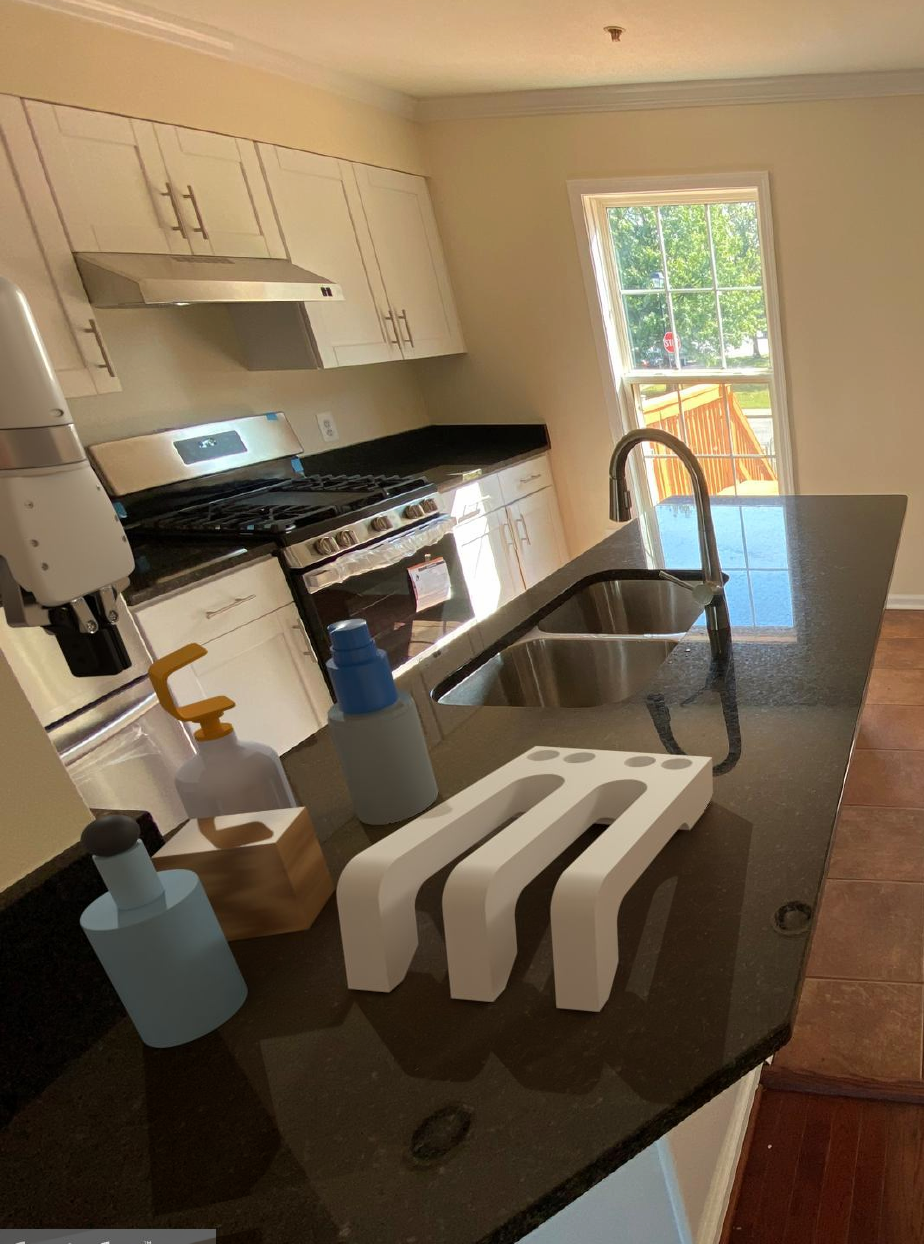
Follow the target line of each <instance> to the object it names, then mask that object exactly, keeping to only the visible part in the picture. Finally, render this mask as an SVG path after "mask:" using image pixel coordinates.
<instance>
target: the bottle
mask: <svg viewBox="0 0 924 1244" xmlns="http://www.w3.org/2000/svg"><path fill="white" fill-rule="evenodd" d="M140 836H141V827H140V824H139V823H138V822H137V821H136V820H135V819H133V818H132V817H130V816H127V815H123V814H108V815H104V816H100V817H98V818H96V819H94V820H92V821H91V822H90V823H88V824H87V825H86V826H85V827H84V829H83V830H82V832H81V834H80V838H79V840H80V846H81V847H82V849H83V850H84V851H85V852H86V853H88V854H90V855H92V860H93V862H94V864H95V866H96V869H97V870H98V873H99V875H100V876H101V878H102V880H103V883H104V884H105V886H106V888H107V890H108V891H107V892H105V893H103V894H102V895H100V896H99V897H98V898H96V899H95V900H93V902H91V903H90V904H89V905H88V906H87V907H86V908H85V909H84V911H83V912H82V914H81V915H80V918H79V924H80V926H81V928H82V930H83V932H84V933H85V935H86V937H87V939H88V941H89V943H90V945H91V947H92V949H93V950H94V953H95V955H96V956H97V958H98V960H99V961H100V963H101V965H102V967H103V969H104V971H105V973H106V975H107V976H108V979H109V980H110V983H111V984H112V986H113V987H114V989H115V991H116V993H117V995H118V997H119V999H120V1000H121V1002H122V1004H123V1006H124V1008H125V1010H126V1012H127V1014H128V1015H129V1017H130V1019H131V1021H132V1023H133V1025H134V1027H135V1028H136V1031H137V1032H138V1034H139V1036H140V1038H141V1040H142V1042H143V1043H144V1044H145V1045H147V1046H149V1047H152V1048H158V1049H164V1048H172V1047H176V1046H180V1045H184V1044H187V1043H189V1042H192V1041H195V1040H197V1039H200V1038H202V1037H203V1036H205V1035H207V1034H209V1033H211V1032H213V1031H214V1030H216V1029H218V1028H219V1027H220V1026H222V1025H223V1024H224V1023H226V1022H227V1021H228V1020H230V1019H231V1018H232V1017H233V1016H234V1015H235V1014H236V1013H237V1012H238V1011H239V1010H240V1009H241V1007H242V1006H243V1004H244V1003H245V1002H246V999H247V997H248V986H247V983H246V982H245V979H244V977H243V975H242V973H241V969H240V968H239V966H238V964H237V961H236V959H235V957H234V954H233V953H232V949H231V948H230V945H229V943H228V942H227V941H226V938H225V936H224V934H223V932H222V929H221V927H220V925H219V922H218V920H217V918H216V916H215V913H214V911H213V909H212V907H211V904H210V902H209V900H208V898H207V895H206V893H205V891H204V888H203V886H202V884H201V882H200V879H199V877H198V875H197V874H196V873H194V872H192V871H190V870H184V869H175V870H166V871H160V872H157V871H156V869H155V867H154V865H153V863H152V860H151V856H150V855H149V853H148V850H147V848H146V846H145V845H144V842H143V840H142V839H141V838H140Z"/></svg>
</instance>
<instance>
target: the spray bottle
mask: <svg viewBox="0 0 924 1244" xmlns="http://www.w3.org/2000/svg"><path fill="white" fill-rule="evenodd" d="M326 629H327V632H328V636H329V639H330V644H331V646H330V647H329V651H330V654H331V658H329V659H328V660H327V661H326V662H325V666H326V670H327V673H328V676H329V679H330V682H331V685H332V688H333V692H334V695H335V699H336V703H334V704H333V705H332V706H330V707H329V709H328V710H327V712H326V715H327V719H326V720H327V721H326V722H327V725H328V729H329V731H330V735H331V738H332V741H333V744H334V747H335V750H336V751H335V752H336V754H337V756H338V760H339V763H340V765H341V766H340V767H341V769H342V773H343V776H344V778H345V781H346V785H347V788H348V791H349V794H350V797H351V800H352V803H353V807H354V810H355V813H356V816H357V819H358V820H359V821H361V822H362V823H363V824H367V825H371V826H385V825H390V824H389V823H391V824H396V823H395V822H397V823H400V822H403V821H405V820H404V819H406V820H408V819H407V818H409V817H412V816H414V815H416V814H418V813H419V812H422V811H423V810H425V809H426V808H427V807H429V806H430V805H431V804H432V803H433V802H434V800H436V798H437V795H438V792H439V789H438V788H439V787H438V785H437V781H436V777H435V774H434V770H433V766H432V762H431V758H430V755H429V751H428V748H427V747H428V746H427V743H426V739H425V736H424V731H423V727H422V724H421V720H420V717H419V713H418V709H417V706H416V705H417V704H416V702H415V699H414V698H413V697H412V695H411V692H409V691H407V690H405V689H400V688H397V687H396V683H395V682H396V681H395V679H394V676H393V671H392V668H391V665H390V661H389V657H388V654H387V651H386V650H384V649H383V648H382V649H381V648H378V646H377V644H376V640H375V638H373V637H371V633H370V631H369V626H368V622H367V620H366V619H364V618H353V619H346V620H339V621H336V622H333V623H331V624H329V625H328V626H327V628H326ZM437 799H438V798H437ZM436 801H437V800H436ZM429 808H430V807H429ZM425 811H426V810H425ZM422 813H423V812H422ZM418 815H419V814H418ZM416 816H417V815H416ZM414 817H415V816H414ZM412 818H413V817H412ZM402 820H403V821H402ZM399 821H400V822H399Z"/></svg>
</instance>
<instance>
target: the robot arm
mask: <svg viewBox="0 0 924 1244" xmlns="http://www.w3.org/2000/svg"><path fill="white" fill-rule="evenodd" d="M135 567H136V565H135V559H134V555H133V552H132V548H131V545H130V543H129V540H128V537H127V534H126V533H125V529H124V527H123V525H122V523H121V521H120V518H119V516H118V514H117V512H116V509H115V508H114V506H113V503H112V501H111V500H110V498H109V496H108V493H107V492H106V490H105V488H104V486H103V485H102V483H101V481H100V479H99V478H98V476H97V474H96V472H95V471H94V470H93V468H92V466H91V463H90V460H89V458H88V455H87V453H86V450H85V447H84V445H83V442H82V439H81V437H80V434H79V432H78V429H77V426H76V423H75V422H74V420H73V417H72V414H71V411H70V409H69V406H68V403H67V401H66V398H65V396H64V393H63V390H62V387H61V384H60V382H59V379H58V377H57V374H56V372H55V369H54V366H53V363H52V361H51V359H50V356H49V353H48V351H47V347H46V345H45V342H44V341H43V337H42V334H41V332H40V329H39V327H38V324H37V321H36V319H35V317H34V314H33V311H32V308H31V306H30V304H29V302H28V299H27V297H26V295H25V293H24V292H23V291H22V289H21V288H20V287H19V285H18V284H16V282H14V281H13V280H11V279H10V278H9V277H6V276H4V275H2V274H0V608H3V612H4V616H5V617H4V618H5V621H6V625H7V626H8V627H9V628H11V629H19V628H35V627H36V628H37V627H40V628H42V629H43V631H44V633H45V634H46V635H48V636H54V637H55V639H56V642H57V644H58V646H59V648H60V651H61V653H62V655H63V657H64V659H65V662H66V664H67V666H68V669H69V671H70V674H71V675H72V676H73V677H75V678H94V677H95V678H96V677H111V676H112V677H113V676H118V675H119V674H121V673H123V672H124V671H126V670H129V668H130V669H131V668H132V666H133V662H132V660H131V657H130V654H129V653H128V652H129V651H128V650H127V648H126V646H125V643H124V640H123V637H122V635H121V632H120V631H119V627H118V625H117V623H118V622H119V620H120V614H119V613H120V612H119V610H118V606H117V599H118V596H119V595H120V594H121V593H122V592H123V591H125V590H126V589H127V588H128V587H129V586H130V585H131V580H130V578H129V575H130V574H132V573H133V571H134V570H135Z"/></svg>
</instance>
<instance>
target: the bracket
mask: <svg viewBox="0 0 924 1244" xmlns="http://www.w3.org/2000/svg"><path fill="white" fill-rule="evenodd" d="M713 780H714V778H713V757H712V756H701V755H685V754H668V753H653V752H652V753H651V752H638V751H637V752H636V751H621V750H604V749H592V748H591V749H590V748H589V749H588V748H576V747H575V748H572V747H558V746H557V747H556V746H543V745H541V746H540V745H535V746H533V747H532V748H530V749H528V750H527V751H525V752H524V753H522V754H520V755H518V756H517V757H515V758H514V759H512V760H511V761H508V762H507V763H505V764H504V765H502V766H501V767H499V768H497V769H495V770H493V771H492V772H490V773H489V774H487V775H486V776H484V777H482V778H481V779H479V780H477V781H476V782H474V783H472V784H471V785H469V786H467V787H466V788H465V789H463V790H461V791H459V792H458V793H456V794H455V795H454V796H451V797H450V798H448V799H446V800H445V801H443V802H441V803H440V804H438V805H436V806H435V807H433V808H432V809H430V810H429V811H427V812H425V813H423V814H421V815H420V816H418V817H417V818H416V819H413V820H412V821H410V822H408V823H407V824H405V825H404V826H401V827H400V828H399V829H397V830H395V831H393V832H392V833H391V834H389V835H387V836H386V837H384V838H382V839H381V840H378V841H377V842H376V843H374V844H373V845H371V846H369V847H367V848H366V849H364V850H362V851H361V852H358V854H356V855H355V856H354V857H352V858H351V859H350V860H349V861H348V862H347V864H346V865H345V867H344V868H343V869H342V871H341V874H340V876H339V879H338V881H337V884H336V893H335V894H336V904H337V912H338V919H339V928H340V935H341V943H342V950H343V951H342V952H343V957H344V966H345V972H346V981H347V989H349V990H359V991H371V992H380V993H381V992H383V993H390V992H392V990H394V989H395V988H396V987H397V986H398V985H399V984H401V983H402V982H403V981H404V979H405V978H406V975H407V973H408V970H409V968H410V965H411V963H412V961H413V958H414V956H415V953H416V951H417V949H418V946H419V936H418V926H417V917H416V916H417V915H416V908H415V906H416V898H417V895H418V893H419V890H420V888H421V887H422V885H423V884H424V883H425V882H426V881H427V880H428V879H429V878H431V877H432V876H433V875H434V874H437V873H438V872H439V871H440V870H442V869H443V868H444V867H446V866H447V865H448V864H450V863H452V862H453V861H454V860H455V859H456V858H458V857H459V856H460V855H461V854H463V853H464V852H466V851H467V850H468V849H470V848H471V847H472V846H475V844H477V843H478V842H480V841H481V840H482V839H483V838H485V837H486V836H487V835H489V834H490V833H492V832H494V830H495V829H497V828H498V827H500V826H501V825H502V824H504V823H505V822H507V821H508V820H510V819H511V818H515V819H516V820H514V821H513V822H511V823H510V824H509V825H508V826H506V827H504V829H502V830H501V831H499V833H497V834H496V835H494V836H493V837H492V838H490V839H489V840H488V841H487V842H485V843H484V844H482V845H481V846H480V847H479V848H476V850H474V851H473V852H472V853H470V854H469V855H468V856H467V857H465V858H464V859H462V860H461V861H460V862H458V864H456V866H455V867H454V868H453V869H452V871H451V872H450V874H449V876H448V877H447V879H446V882H445V885H444V887H443V892H442V898H441V907H442V916H443V917H442V918H443V928H444V938H445V948H446V949H445V950H446V956H447V957H446V958H447V970H448V979H449V989H450V991H449V992H450V998H451V999H457V1000H467V1001H478V1002H491V1003H494V1002H495V1001H496V1000H497V998H498V997H500V995H501V994H502V993H503V992H504V991H505V990H506V987H507V984H508V980H509V978H510V976H511V973H512V970H513V966H514V963H515V960H516V958H517V955H518V944H517V943H518V942H517V927H516V916H515V912H516V906H517V902H518V899H519V897H520V895H521V893H522V891H523V890H524V889H525V887H526V886H528V885H529V884H530V883H531V882H532V881H533V880H534V879H535V878H536V877H537V876H538V875H539V874H541V872H543V871H544V870H545V869H546V868H547V867H548V866H549V865H550V864H551V863H552V862H553V861H554V860H556V859H557V858H558V857H559V856H561V854H562V853H563V852H564V851H565V850H566V849H568V848H569V846H571V845H572V844H573V843H574V842H575V841H576V840H577V839H578V838H579V837H580V836H581V835H583V834H584V833H585V832H586V831H587V830H588V829H589V828H591V826H592V825H593V824H599V825H609V826H608V827H607V828H606V830H604V831H603V832H602V833H601V834H600V835H599V836H598V837H597V838H596V839H595V840H594V841H593V842H592V843H591V844H590V845H589V846H588V847H587V848H586V849H585V850H584V851H583V852H582V853H581V854H580V855H579V856H578V857H576V859H575V860H574V861H573V862H572V863H571V864H570V865H569V866H568V867H567V868H566V869H565V870H563V872H562V874H560V876H559V878H558V880H557V882H556V884H555V887H554V890H553V893H552V897H551V901H550V929H551V941H552V942H551V943H552V959H553V973H554V975H553V976H554V986H555V987H554V991H555V1005H556V1009H566V1010H574V1011H575V1010H576V1011H586V1012H597V1013H600V1012H601V1010H602V1009H603V1007H604V1006H605V1004H606V1003H607V1001H608V1000H609V998H610V994H611V991H612V987H613V984H614V980H615V975H616V972H617V968H618V964H619V945H618V944H619V942H618V915H619V911H620V906H621V904H622V901H623V899H624V897H625V895H626V894H627V893H628V892H629V890H630V889H631V888H632V887H633V886H634V884H635V883H636V882H637V881H638V879H639V878H640V877H641V876H642V874H643V873H644V872H645V871H646V869H647V868H649V866H650V864H652V862H653V861H654V859H655V858H656V857H657V855H658V854H660V852H661V851H662V850H663V848H664V847H665V846H666V844H667V843H669V841H670V840H671V838H672V837H673V836H674V835H675V833H676V832H677V831H678V830H685V831H691V829H692V828H693V827H694V826H695V824H696V823H697V822H698V821H699V819H700V818H701V816H702V815H703V814H704V813H705V811H706V810H707V809H706V807H707V804H708V803H709V801H710V799H711V797H712V794H714V790H713V789H714V785H713V784H714V783H713ZM707 808H708V807H707ZM705 809H706V810H705ZM704 810H705V811H704Z"/></svg>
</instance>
